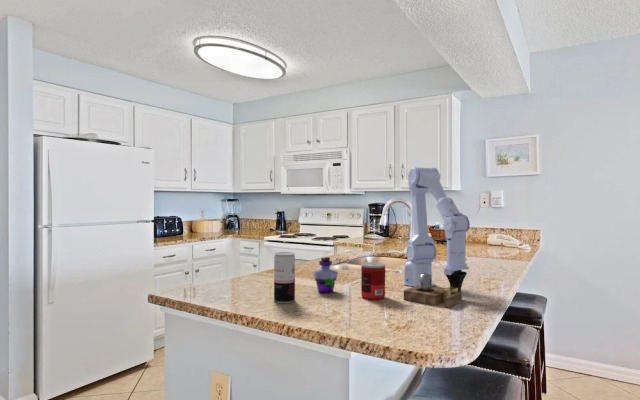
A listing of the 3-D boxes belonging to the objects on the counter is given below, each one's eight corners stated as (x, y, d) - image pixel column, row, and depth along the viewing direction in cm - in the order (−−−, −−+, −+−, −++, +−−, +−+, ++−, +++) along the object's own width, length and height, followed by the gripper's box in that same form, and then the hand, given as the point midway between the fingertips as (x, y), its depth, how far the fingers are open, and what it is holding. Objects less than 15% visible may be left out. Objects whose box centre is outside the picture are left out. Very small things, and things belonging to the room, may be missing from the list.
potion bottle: (324, 295, 131) (324, 259, 131) (308, 291, 137) (308, 257, 137) (343, 291, 137) (343, 257, 137) (326, 287, 143) (326, 254, 143)
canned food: (387, 296, 131) (387, 263, 131) (381, 301, 124) (381, 266, 124) (365, 293, 134) (365, 261, 134) (358, 299, 127) (358, 265, 127)
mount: (403, 299, 126) (403, 290, 126) (417, 294, 134) (418, 285, 134) (449, 308, 117) (449, 298, 117) (461, 301, 124) (461, 292, 124)
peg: (417, 298, 127) (418, 274, 127) (424, 297, 130) (424, 273, 130) (427, 301, 124) (427, 275, 125) (433, 299, 127) (434, 274, 127)
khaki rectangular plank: (442, 302, 123) (443, 289, 123) (450, 298, 128) (450, 286, 128) (450, 303, 122) (450, 290, 122) (457, 300, 126) (457, 287, 126)
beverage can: (285, 297, 129) (286, 251, 129) (299, 300, 125) (299, 253, 124) (269, 300, 125) (270, 253, 125) (282, 304, 120) (283, 255, 120)
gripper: (459, 255, 120) (459, 300, 120) (476, 251, 131) (476, 291, 131) (437, 253, 124) (437, 296, 124) (455, 249, 135) (455, 288, 135)
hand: (455, 293), depth 128 cm, fingers closed
